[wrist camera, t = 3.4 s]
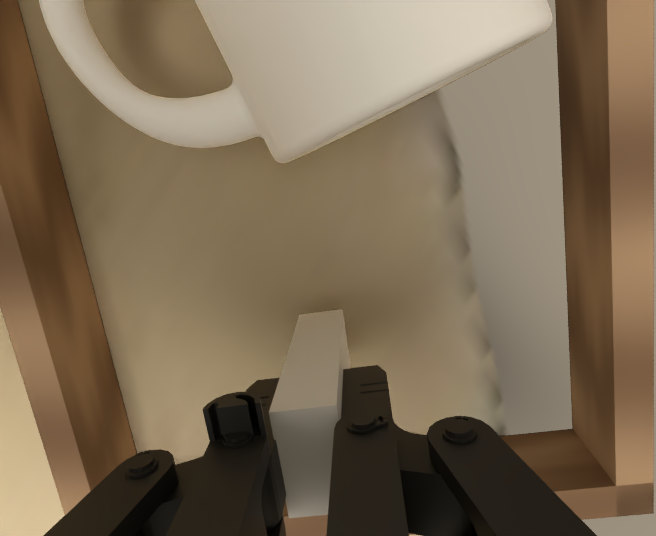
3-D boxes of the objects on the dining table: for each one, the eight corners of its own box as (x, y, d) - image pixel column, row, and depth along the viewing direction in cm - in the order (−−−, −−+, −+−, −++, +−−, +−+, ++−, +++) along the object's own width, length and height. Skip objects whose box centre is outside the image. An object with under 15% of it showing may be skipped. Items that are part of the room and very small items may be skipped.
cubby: (-53, -128, 17) (-156, -196, 13) (586, -262, 15) (654, -378, 12) (121, 499, 22) (79, 563, 19) (604, 452, 21) (653, 513, 17)
